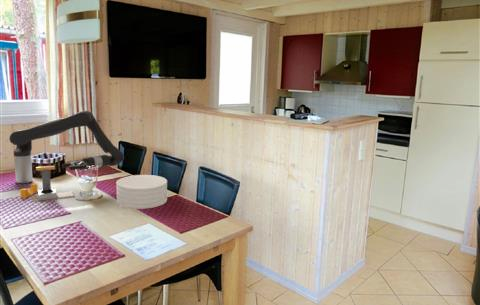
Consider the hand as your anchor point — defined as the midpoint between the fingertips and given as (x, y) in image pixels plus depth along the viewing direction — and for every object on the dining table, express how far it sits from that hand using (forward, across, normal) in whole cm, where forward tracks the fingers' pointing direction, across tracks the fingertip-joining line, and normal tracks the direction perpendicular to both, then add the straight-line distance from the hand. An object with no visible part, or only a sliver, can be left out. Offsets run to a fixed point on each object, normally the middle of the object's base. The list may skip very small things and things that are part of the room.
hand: (66, 167), depth 208 cm
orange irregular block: (+17, -13, +17) cm, 27 cm away
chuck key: (+11, 0, +15) cm, 19 cm away
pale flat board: (+9, +1, +17) cm, 19 cm away
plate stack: (-26, +35, +18) cm, 47 cm away
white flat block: (+11, 0, +15) cm, 19 cm away
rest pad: (+3, +3, +16) cm, 16 cm away
